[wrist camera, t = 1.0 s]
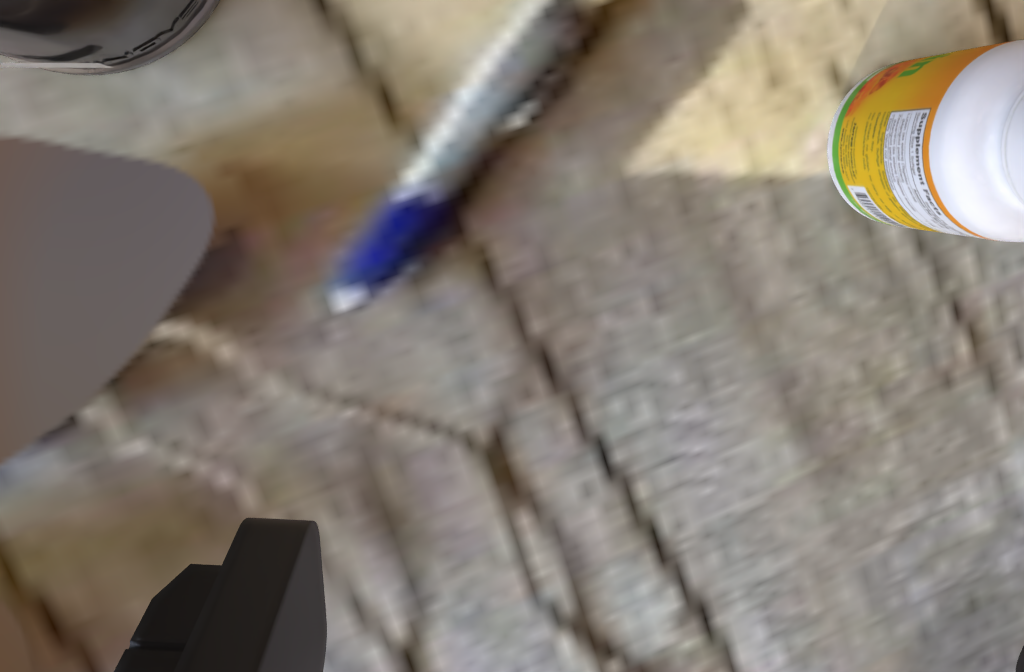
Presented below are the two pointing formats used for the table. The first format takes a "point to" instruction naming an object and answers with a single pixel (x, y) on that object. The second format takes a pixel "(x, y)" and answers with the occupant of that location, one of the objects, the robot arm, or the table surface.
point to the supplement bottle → (937, 143)
